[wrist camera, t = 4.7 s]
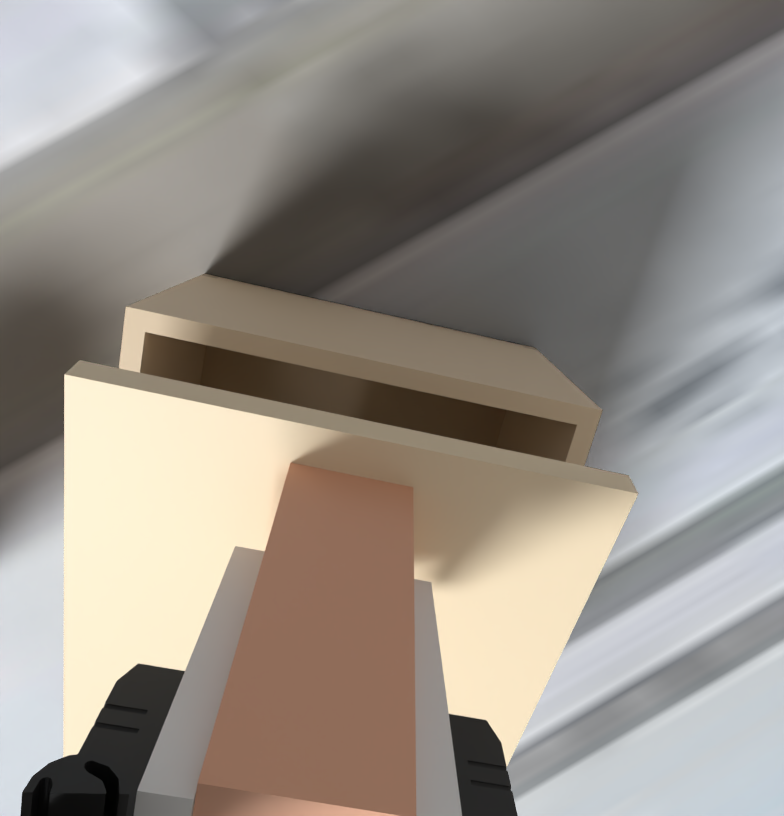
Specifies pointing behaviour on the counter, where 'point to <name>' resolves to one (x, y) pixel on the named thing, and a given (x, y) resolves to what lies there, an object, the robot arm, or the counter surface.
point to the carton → (359, 366)
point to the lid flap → (315, 579)
